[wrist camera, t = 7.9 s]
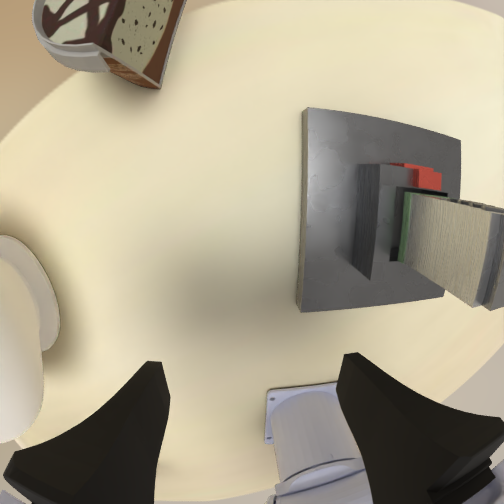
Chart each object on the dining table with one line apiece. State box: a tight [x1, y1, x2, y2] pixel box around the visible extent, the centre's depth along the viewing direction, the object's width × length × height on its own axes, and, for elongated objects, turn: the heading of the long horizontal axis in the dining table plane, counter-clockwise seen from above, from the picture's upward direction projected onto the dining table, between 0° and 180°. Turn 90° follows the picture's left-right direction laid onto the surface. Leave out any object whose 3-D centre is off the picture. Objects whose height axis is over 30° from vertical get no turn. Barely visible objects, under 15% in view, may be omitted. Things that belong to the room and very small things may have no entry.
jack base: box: [296, 107, 461, 312], centre depth 17 cm, size 14×14×5 cm
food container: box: [32, 0, 187, 89], centre depth 9 cm, size 12×6×10 cm, turn 171°
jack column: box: [397, 192, 504, 311], centre depth 11 cm, size 4×4×7 cm
